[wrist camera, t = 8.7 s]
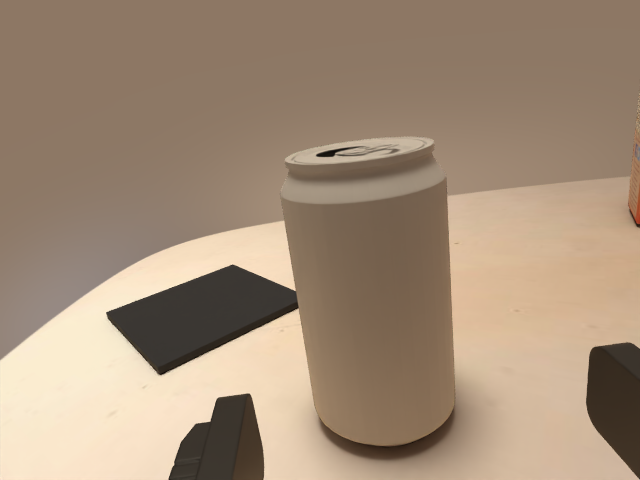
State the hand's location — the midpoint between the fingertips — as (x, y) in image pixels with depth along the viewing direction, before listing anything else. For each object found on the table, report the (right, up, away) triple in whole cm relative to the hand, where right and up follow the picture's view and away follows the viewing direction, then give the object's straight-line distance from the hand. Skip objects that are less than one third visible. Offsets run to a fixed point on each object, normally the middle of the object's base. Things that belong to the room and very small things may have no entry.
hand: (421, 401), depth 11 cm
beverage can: (+1, -4, +10) cm, 11 cm away
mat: (-11, -1, +23) cm, 25 cm away
